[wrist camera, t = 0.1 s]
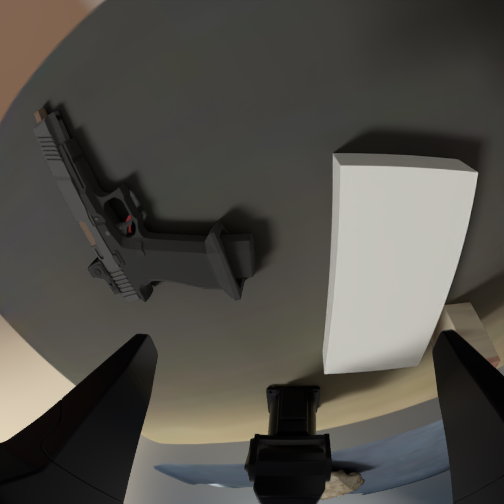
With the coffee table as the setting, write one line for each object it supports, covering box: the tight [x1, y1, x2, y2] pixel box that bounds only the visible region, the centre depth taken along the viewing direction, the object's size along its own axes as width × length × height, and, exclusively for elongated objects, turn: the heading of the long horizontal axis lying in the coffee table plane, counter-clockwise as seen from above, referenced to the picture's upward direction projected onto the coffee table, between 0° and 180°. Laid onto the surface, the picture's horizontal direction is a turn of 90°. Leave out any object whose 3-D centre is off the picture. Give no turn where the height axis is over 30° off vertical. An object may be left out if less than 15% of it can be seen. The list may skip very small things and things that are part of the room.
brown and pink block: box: [430, 302, 500, 368], centre depth 23 cm, size 5×4×8 cm
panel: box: [323, 153, 478, 374], centre depth 23 cm, size 20×10×3 cm, turn 5°
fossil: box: [321, 469, 365, 500], centre depth 53 cm, size 16×10×20 cm
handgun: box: [34, 108, 256, 302], centre depth 22 cm, size 3×21×15 cm
